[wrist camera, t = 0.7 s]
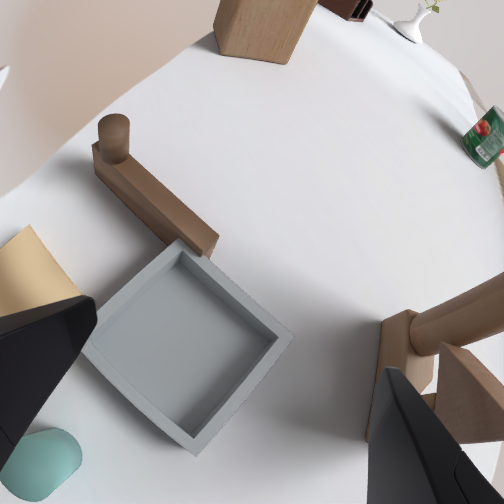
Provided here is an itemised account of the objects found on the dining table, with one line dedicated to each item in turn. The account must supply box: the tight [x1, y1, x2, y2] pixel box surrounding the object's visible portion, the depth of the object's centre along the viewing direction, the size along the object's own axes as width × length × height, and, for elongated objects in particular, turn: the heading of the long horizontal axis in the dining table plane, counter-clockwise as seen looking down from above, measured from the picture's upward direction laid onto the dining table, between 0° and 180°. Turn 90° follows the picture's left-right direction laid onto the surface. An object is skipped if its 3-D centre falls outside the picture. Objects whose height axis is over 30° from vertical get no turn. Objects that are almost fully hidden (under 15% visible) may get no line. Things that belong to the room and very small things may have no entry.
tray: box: [81, 238, 295, 456], centre depth 19 cm, size 10×10×2 cm
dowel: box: [0, 428, 82, 502], centre depth 12 cm, size 3×3×7 cm
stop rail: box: [92, 114, 219, 259], centre depth 21 cm, size 2×12×6 cm, turn 51°
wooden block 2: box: [365, 272, 504, 444], centre depth 16 cm, size 4×11×18 cm, turn 165°
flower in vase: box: [394, 0, 444, 44], centre depth 68 cm, size 13×11×25 cm
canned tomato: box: [461, 105, 504, 169], centre depth 46 cm, size 8×8×11 cm
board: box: [0, 224, 83, 317], centre depth 17 cm, size 10×7×2 cm
